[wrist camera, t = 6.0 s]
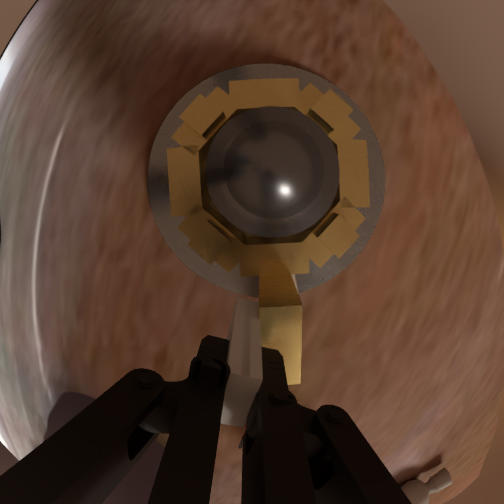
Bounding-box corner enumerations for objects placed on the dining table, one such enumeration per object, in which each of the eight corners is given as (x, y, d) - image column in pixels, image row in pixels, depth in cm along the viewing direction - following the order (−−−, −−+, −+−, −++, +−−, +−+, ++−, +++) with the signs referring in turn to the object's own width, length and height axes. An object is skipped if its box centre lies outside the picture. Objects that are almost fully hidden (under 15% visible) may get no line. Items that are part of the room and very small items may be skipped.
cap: (114, 173, 20) (43, 170, 12) (277, 34, 18) (286, -33, 9) (255, 331, 23) (253, 403, 14) (415, 197, 20) (486, 207, 12)
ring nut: (197, 323, 22) (171, 384, 14) (178, 102, 18) (137, 61, 10) (350, 315, 21) (387, 371, 14) (346, 95, 17) (388, 53, 10)
